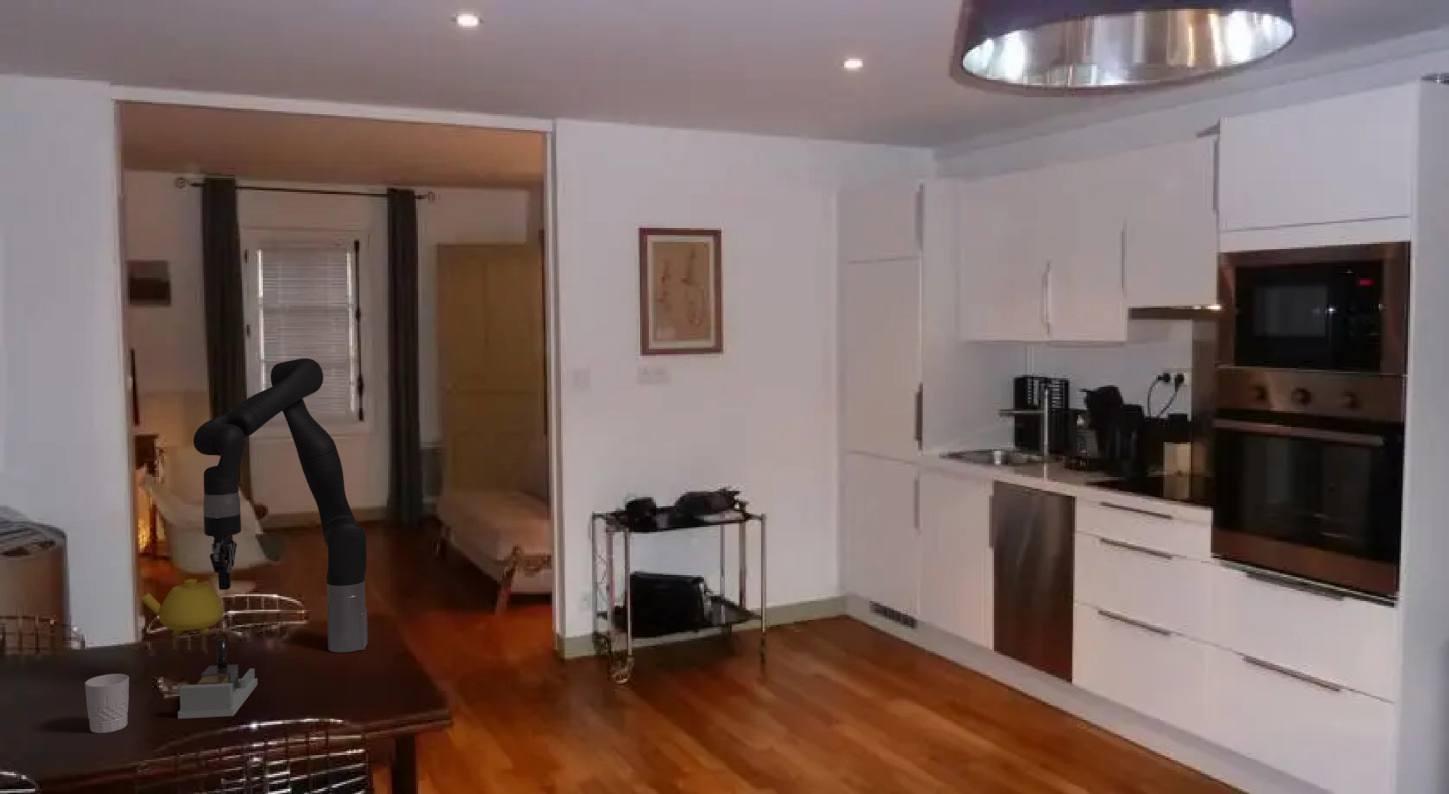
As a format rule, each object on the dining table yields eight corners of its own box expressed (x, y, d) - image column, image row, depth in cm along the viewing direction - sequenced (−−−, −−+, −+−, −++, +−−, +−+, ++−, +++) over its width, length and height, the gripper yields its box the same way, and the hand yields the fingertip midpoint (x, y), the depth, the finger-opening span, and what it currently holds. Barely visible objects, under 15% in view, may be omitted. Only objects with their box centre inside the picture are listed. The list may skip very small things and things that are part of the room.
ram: (210, 687, 245) (208, 639, 244) (238, 686, 246) (237, 638, 245) (201, 697, 239) (200, 647, 238) (231, 695, 240) (229, 646, 239)
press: (207, 685, 252) (207, 657, 251) (258, 683, 254) (257, 655, 253) (178, 718, 231) (177, 688, 231) (233, 716, 233) (232, 686, 232)
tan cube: (229, 697, 240) (228, 674, 240) (222, 705, 235) (222, 682, 235) (205, 698, 239) (204, 675, 239) (198, 706, 234) (197, 683, 234)
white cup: (120, 717, 232) (119, 671, 231) (137, 726, 227) (135, 679, 226) (80, 728, 225) (78, 680, 225) (96, 737, 220) (94, 689, 220)
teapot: (136, 642, 284) (135, 590, 283) (146, 626, 299) (144, 576, 298) (221, 635, 291) (220, 584, 290) (226, 619, 305) (225, 571, 304)
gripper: (212, 508, 251) (215, 582, 252) (195, 519, 238) (198, 597, 239) (247, 507, 252) (250, 581, 253) (232, 517, 239) (235, 595, 240)
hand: (225, 589), depth 246 cm, fingers closed
